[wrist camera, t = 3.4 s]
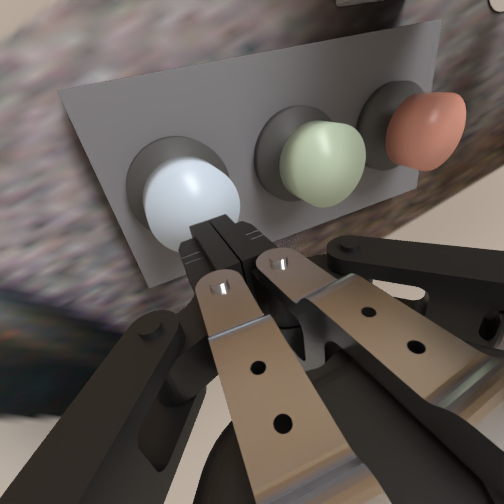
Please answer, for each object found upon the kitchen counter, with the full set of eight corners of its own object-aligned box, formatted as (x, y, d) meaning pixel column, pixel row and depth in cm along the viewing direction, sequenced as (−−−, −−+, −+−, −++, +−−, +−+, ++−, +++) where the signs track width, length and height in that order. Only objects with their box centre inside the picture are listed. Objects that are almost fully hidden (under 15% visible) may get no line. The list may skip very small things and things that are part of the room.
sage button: (343, 112, 17) (367, 114, 15) (343, 186, 20) (363, 194, 18) (274, 130, 16) (293, 135, 14) (283, 206, 18) (300, 217, 17)
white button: (217, 145, 15) (230, 152, 13) (234, 223, 18) (247, 236, 16) (128, 169, 14) (130, 179, 12) (160, 249, 16) (165, 266, 15)
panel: (416, 24, 21) (453, 16, 19) (398, 182, 27) (424, 190, 25) (62, 90, 15) (54, 90, 13) (146, 273, 21) (150, 295, 19)
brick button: (443, 86, 19) (473, 85, 17) (431, 155, 22) (456, 160, 20) (388, 100, 18) (416, 101, 16) (382, 172, 20) (405, 179, 19)
